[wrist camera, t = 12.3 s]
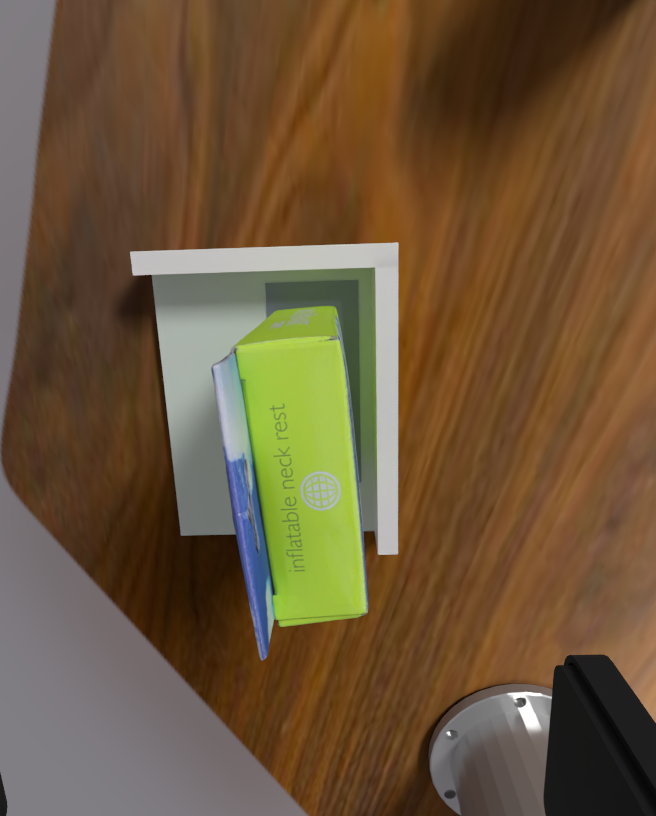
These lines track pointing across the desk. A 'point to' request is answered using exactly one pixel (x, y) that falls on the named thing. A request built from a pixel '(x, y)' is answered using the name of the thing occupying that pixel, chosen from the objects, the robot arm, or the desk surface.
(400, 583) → the desk surface
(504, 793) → the robot arm
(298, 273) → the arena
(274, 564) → the box
